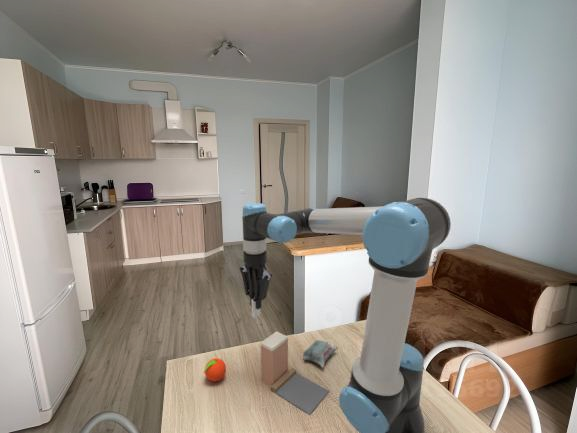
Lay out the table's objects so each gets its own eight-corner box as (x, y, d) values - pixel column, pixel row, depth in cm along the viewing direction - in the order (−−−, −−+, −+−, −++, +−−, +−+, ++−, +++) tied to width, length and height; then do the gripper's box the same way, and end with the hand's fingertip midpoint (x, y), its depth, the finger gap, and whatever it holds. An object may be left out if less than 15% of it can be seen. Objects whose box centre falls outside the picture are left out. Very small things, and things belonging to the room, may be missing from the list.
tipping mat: (329, 391, 94) (329, 387, 93) (309, 415, 85) (309, 410, 85) (291, 371, 103) (291, 367, 102) (270, 390, 94) (270, 386, 94)
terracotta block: (287, 373, 102) (287, 336, 99) (272, 387, 96) (272, 348, 93) (276, 366, 105) (276, 331, 102) (261, 379, 99) (260, 342, 96)
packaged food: (337, 353, 112) (337, 342, 111) (322, 372, 102) (322, 359, 101) (317, 345, 117) (317, 334, 116) (301, 362, 107) (301, 350, 106)
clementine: (210, 391, 94) (209, 372, 92) (198, 381, 98) (197, 362, 97) (230, 377, 100) (229, 359, 98) (218, 368, 104) (217, 350, 103)
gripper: (277, 251, 95) (277, 317, 100) (249, 244, 103) (250, 305, 108) (261, 258, 90) (262, 327, 95) (232, 249, 97) (234, 314, 102)
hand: (256, 316), depth 101 cm, fingers closed
